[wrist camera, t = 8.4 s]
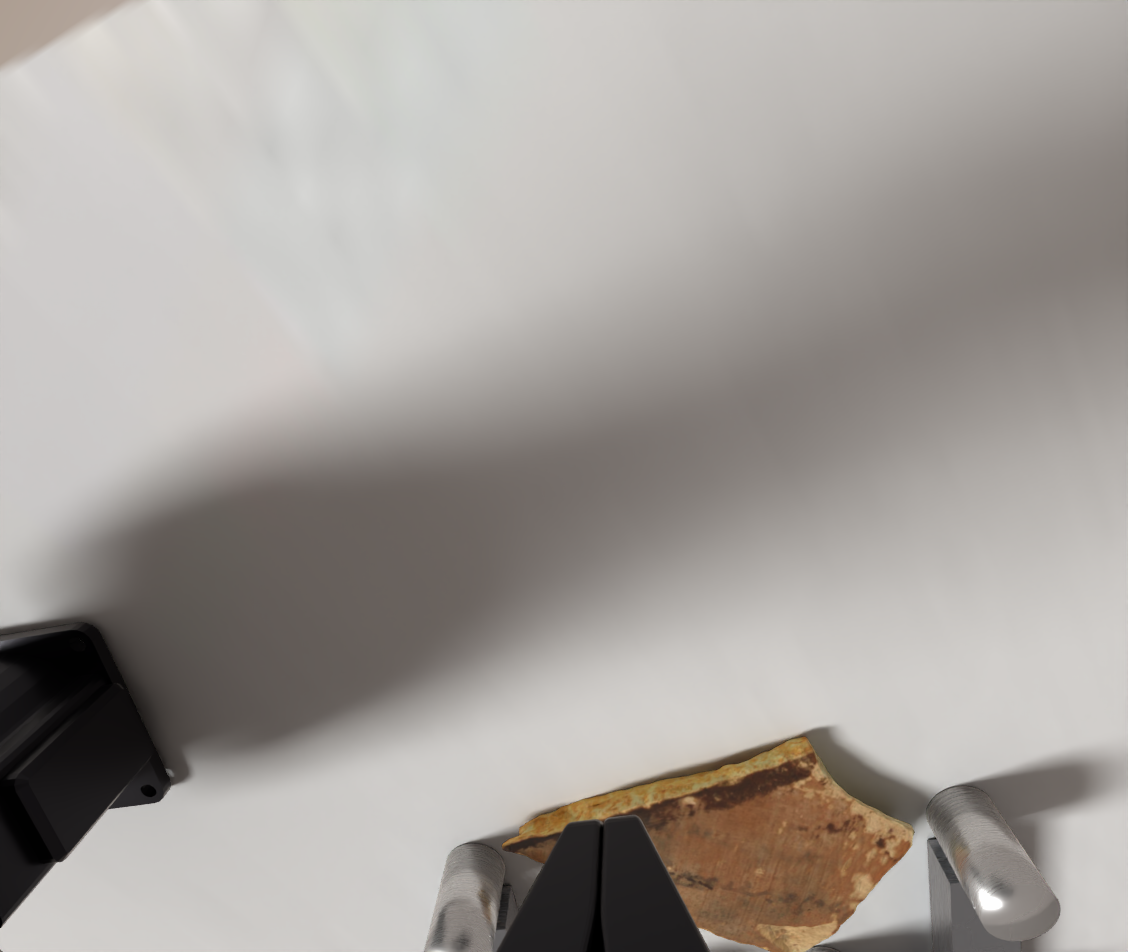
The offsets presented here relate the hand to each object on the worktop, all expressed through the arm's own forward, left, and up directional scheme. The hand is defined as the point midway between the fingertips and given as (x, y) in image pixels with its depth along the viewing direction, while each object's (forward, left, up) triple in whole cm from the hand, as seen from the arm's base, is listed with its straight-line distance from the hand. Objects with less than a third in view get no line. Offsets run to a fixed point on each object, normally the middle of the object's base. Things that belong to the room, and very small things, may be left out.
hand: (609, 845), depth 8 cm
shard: (+1, -13, -13) cm, 19 cm away
